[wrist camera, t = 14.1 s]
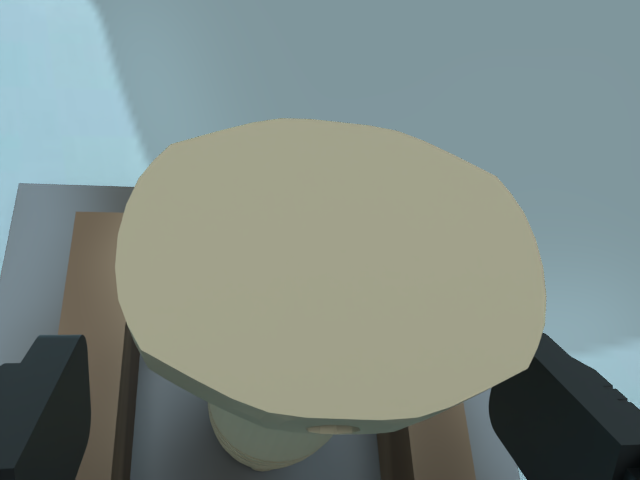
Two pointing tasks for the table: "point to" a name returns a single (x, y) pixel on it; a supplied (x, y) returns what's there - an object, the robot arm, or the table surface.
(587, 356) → the table surface
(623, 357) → the table surface
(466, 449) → the collar
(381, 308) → the handle
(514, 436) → the robot arm
